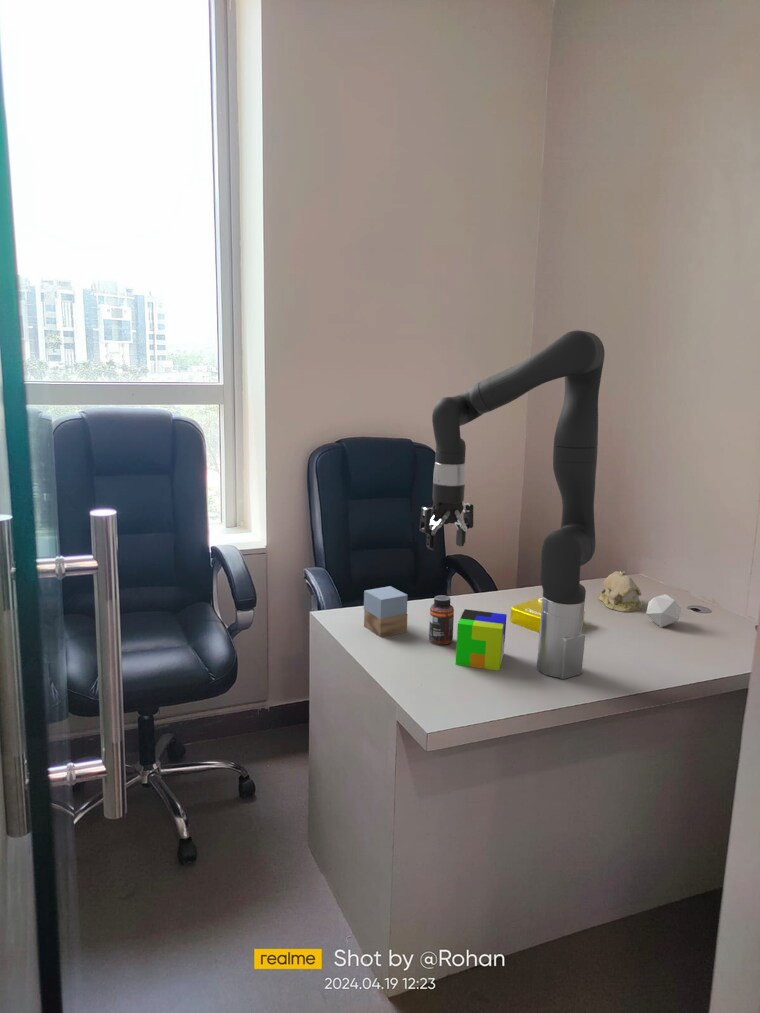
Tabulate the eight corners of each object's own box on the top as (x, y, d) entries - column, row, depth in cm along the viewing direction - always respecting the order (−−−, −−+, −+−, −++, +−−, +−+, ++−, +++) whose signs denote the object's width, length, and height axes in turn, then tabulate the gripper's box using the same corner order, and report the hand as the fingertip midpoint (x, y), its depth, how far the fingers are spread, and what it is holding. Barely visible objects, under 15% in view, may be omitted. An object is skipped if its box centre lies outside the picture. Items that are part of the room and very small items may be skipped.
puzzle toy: (503, 653, 173) (506, 614, 171) (499, 670, 164) (502, 629, 162) (462, 648, 176) (464, 609, 174) (455, 664, 167) (457, 623, 164)
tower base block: (406, 632, 185) (407, 613, 184) (380, 637, 181) (380, 619, 180) (389, 622, 192) (390, 604, 191) (363, 627, 188) (364, 609, 187)
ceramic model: (650, 611, 207) (654, 577, 205) (616, 613, 203) (620, 579, 201) (621, 595, 220) (624, 563, 218) (588, 597, 217) (591, 565, 215)
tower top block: (406, 613, 184) (407, 595, 183) (380, 619, 180) (381, 599, 179) (389, 604, 191) (390, 586, 190) (363, 609, 187) (364, 590, 186)
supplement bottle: (452, 637, 182) (455, 594, 180) (452, 646, 177) (455, 602, 174) (428, 635, 183) (430, 592, 181) (428, 644, 177) (430, 600, 175)
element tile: (506, 622, 195) (508, 605, 194) (539, 610, 205) (541, 594, 204) (554, 639, 184) (555, 621, 183) (586, 625, 194) (588, 608, 193)
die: (684, 632, 192) (689, 599, 196) (663, 620, 188) (669, 586, 192) (658, 633, 199) (663, 601, 202) (637, 622, 195) (643, 589, 199)
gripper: (433, 486, 165) (430, 554, 168) (482, 482, 172) (478, 548, 175) (415, 480, 171) (412, 547, 174) (463, 477, 178) (459, 540, 182)
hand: (445, 547), depth 175 cm, fingers open, 8 cm apart
